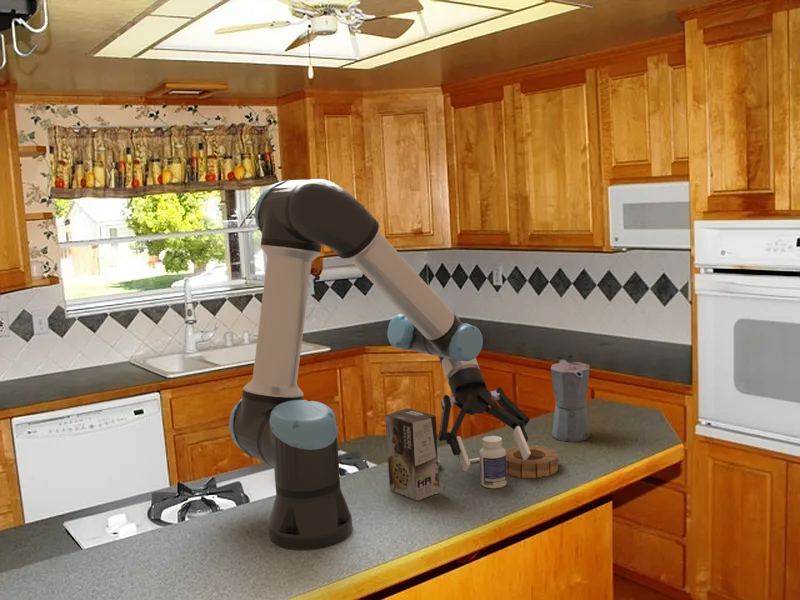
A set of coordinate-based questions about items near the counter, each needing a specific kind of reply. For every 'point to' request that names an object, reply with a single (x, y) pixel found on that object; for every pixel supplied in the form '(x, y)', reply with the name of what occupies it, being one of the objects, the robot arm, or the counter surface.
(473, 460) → the wooden dowel
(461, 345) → the robot arm
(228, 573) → the counter surface
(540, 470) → the brown segmented ring
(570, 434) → the moka pot
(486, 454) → the pill bottle
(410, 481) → the coffee box
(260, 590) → the counter surface
